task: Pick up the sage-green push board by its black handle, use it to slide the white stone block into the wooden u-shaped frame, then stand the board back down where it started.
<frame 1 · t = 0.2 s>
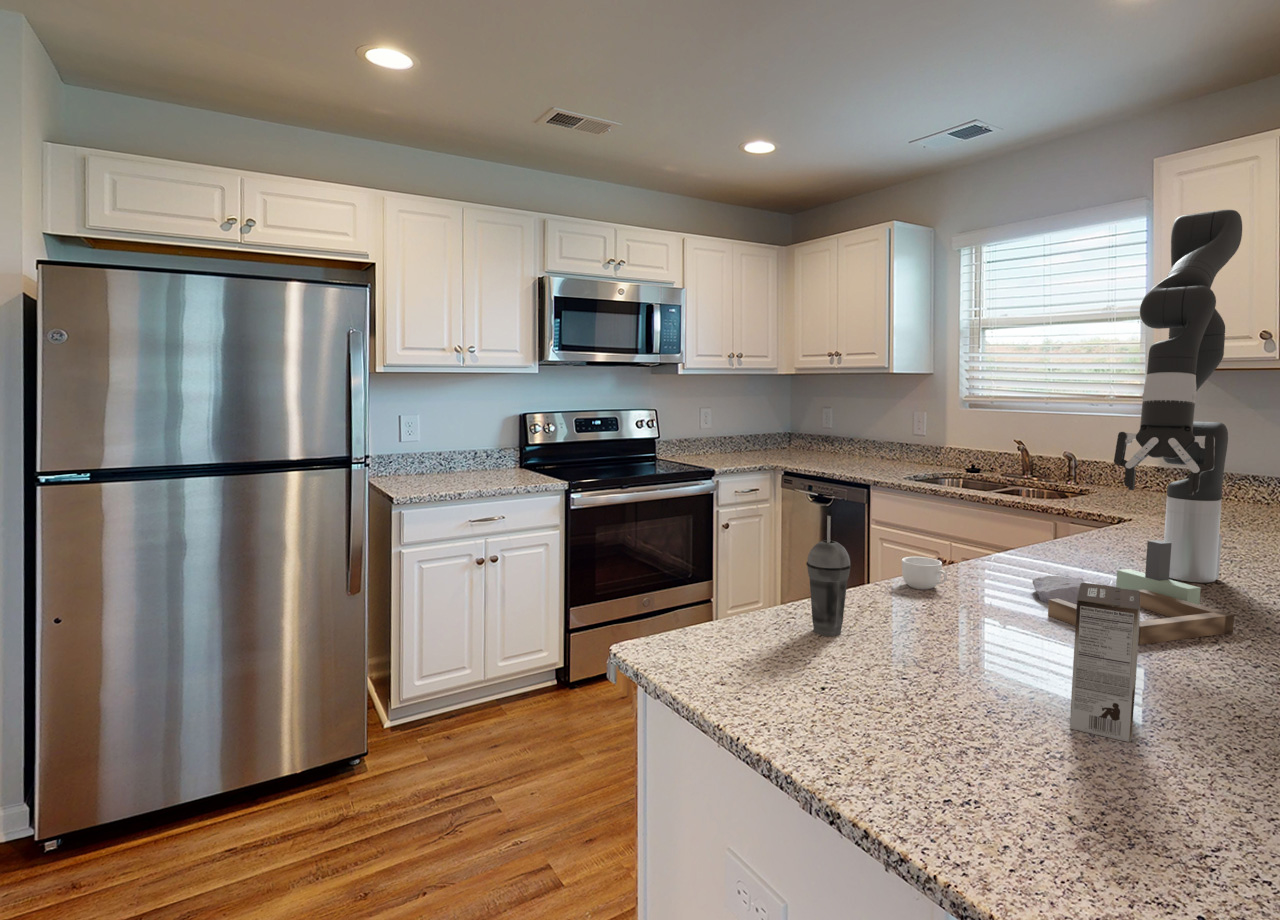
hand: (1159, 492, 128), 22 cm above the worktop, tool pointing down, fingers open, 8 cm apart
push board: (1155, 604, 137), on the worktop
wooden u-shaped frame: (1131, 621, 127), on the worktop
beverage cup: (827, 632, 123), on the worktop
teacup: (925, 588, 149), on the worktop
coffee box: (1101, 723, 89), on the worktop
stone block: (1061, 600, 141), on the worktop
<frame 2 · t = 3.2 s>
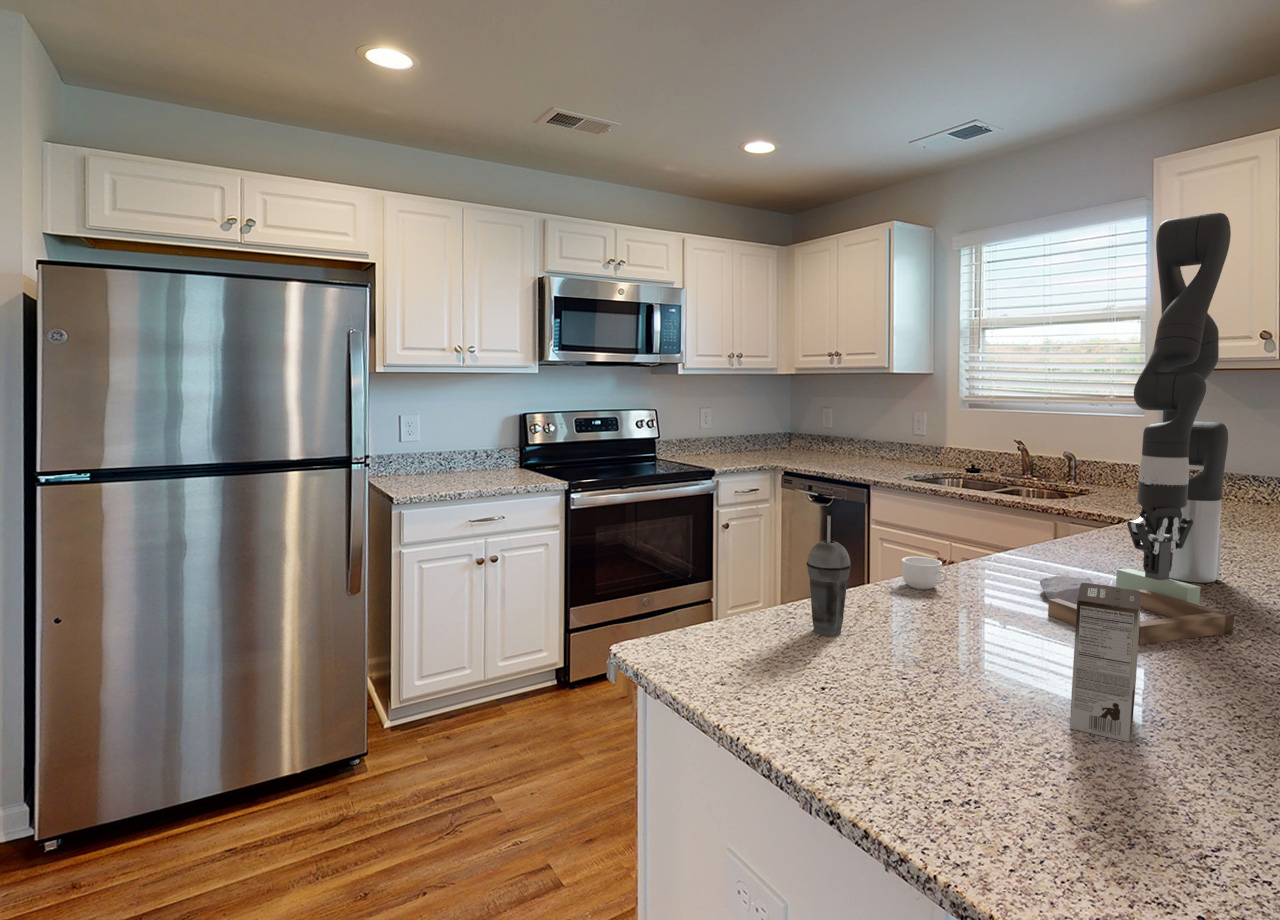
hand: (1157, 571, 136), 6 cm above the worktop, tool pointing down, fingers closed on push board, 2 cm apart
push board: (1155, 603, 137), on the worktop, touching gripper
stone block: (1069, 601, 141), on the worktop
everything else where it was.
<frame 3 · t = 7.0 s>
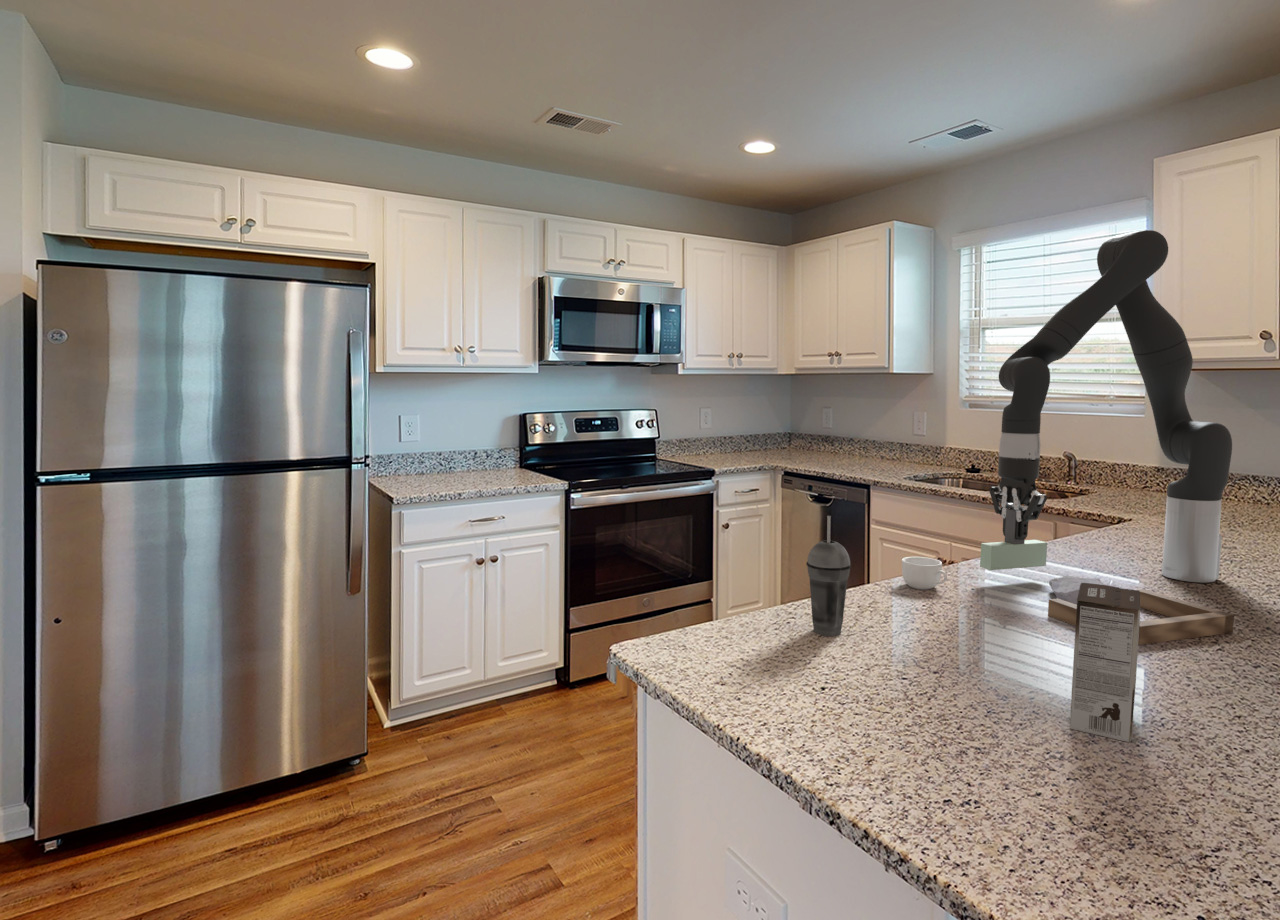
hand: (1014, 537, 151), 10 cm above the worktop, tool pointing down, fingers closed on push board, 2 cm apart
push board: (1013, 566, 152), point 3 cm above the worktop, touching gripper
stone block: (1079, 601, 140), on the worktop
everything else where it was.
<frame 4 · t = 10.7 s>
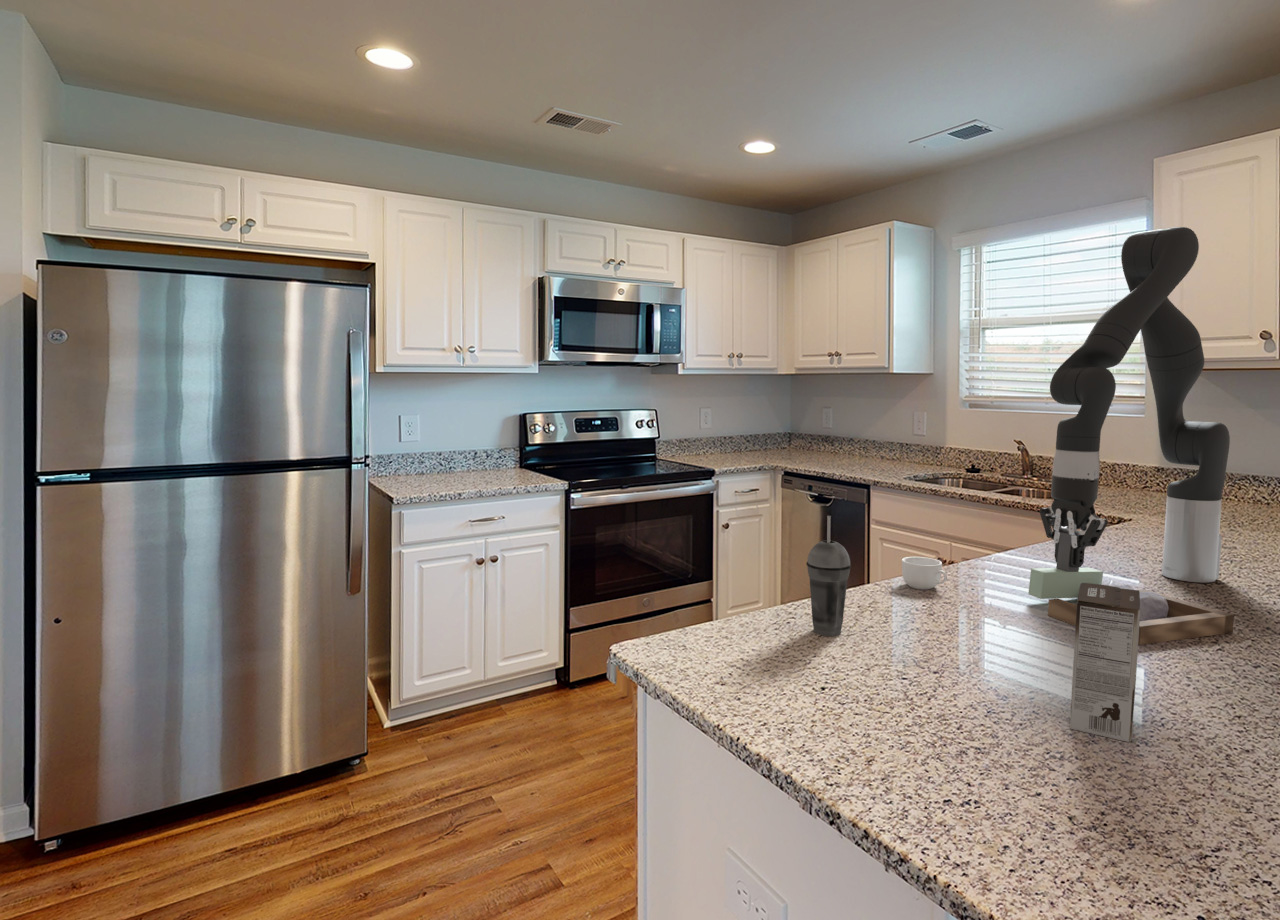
hand: (1068, 564, 138), 7 cm above the worktop, tool pointing down, fingers closed on push board, 2 cm apart
push board: (1064, 595, 139), point 1 cm above the worktop, touching gripper, stone block
stone block: (1119, 612, 133), on the worktop, touching push board
everything else where it was.
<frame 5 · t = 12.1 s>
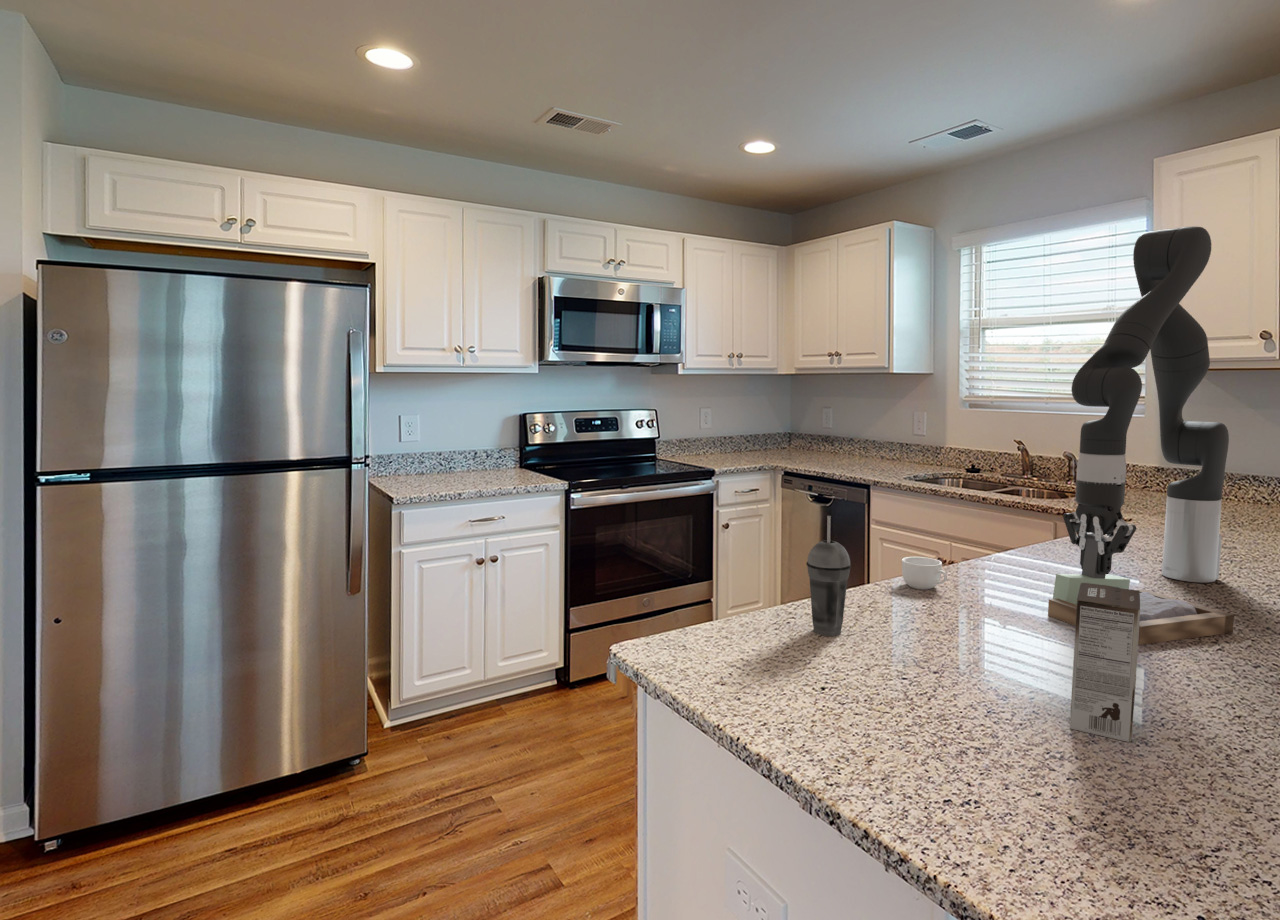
hand: (1095, 571, 133), 7 cm above the worktop, tool pointing down, fingers closed on push board, 2 cm apart
push board: (1089, 603, 134), point 1 cm above the worktop, tilted 6°, touching gripper, stone block
stone block: (1145, 621, 128), on the worktop, touching push board
everything else where it was.
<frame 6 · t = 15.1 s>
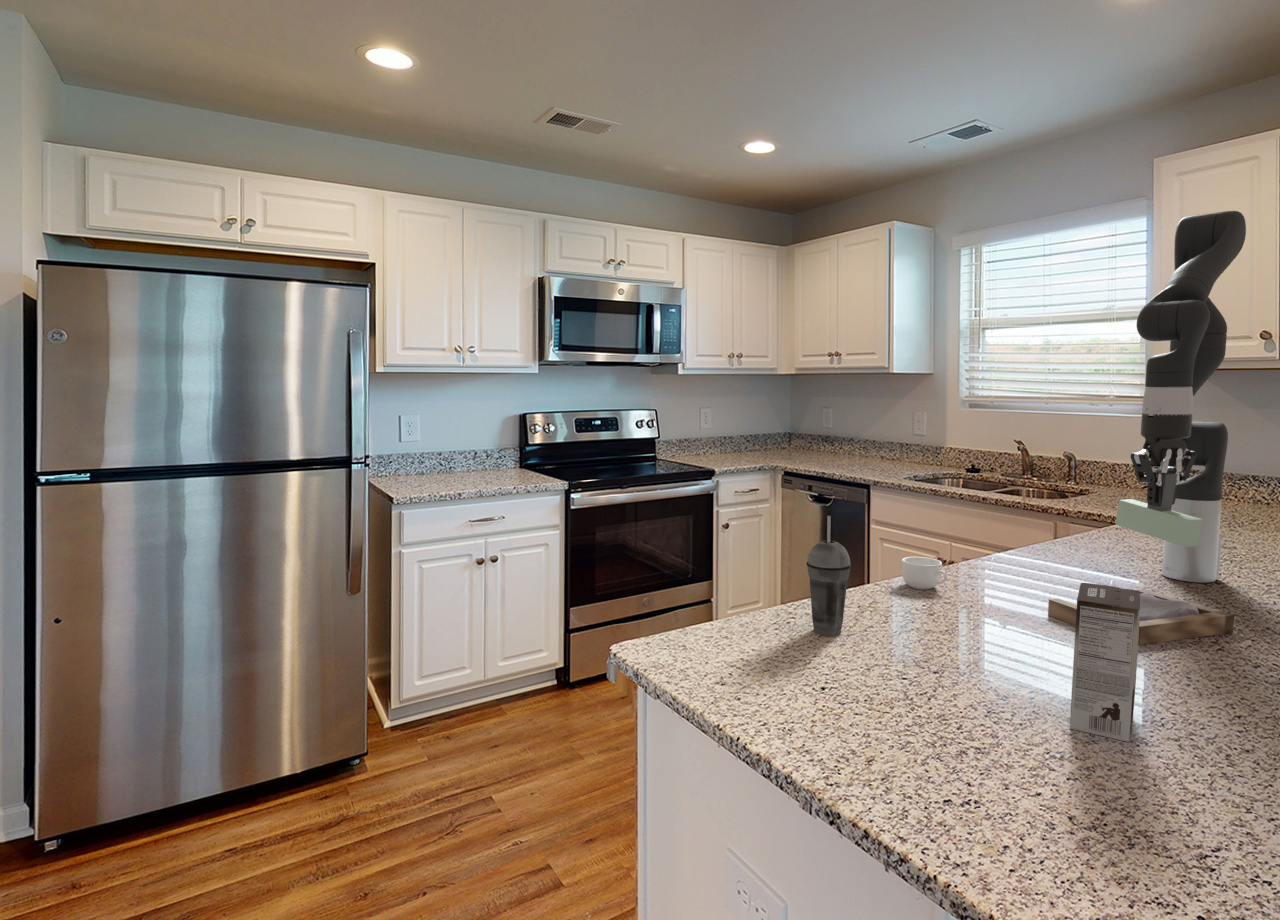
hand: (1160, 504, 135), 19 cm above the worktop, tool pointing down, fingers closed on push board, 2 cm apart
push board: (1154, 534, 137), point 13 cm above the worktop, tilted 6°, touching gripper
stone block: (1148, 622, 128), on the worktop
everything else where it was.
when the fingers open (7 cm above the worktop, at t = 17.6 s): push board drops 1 cm, on the worktop.
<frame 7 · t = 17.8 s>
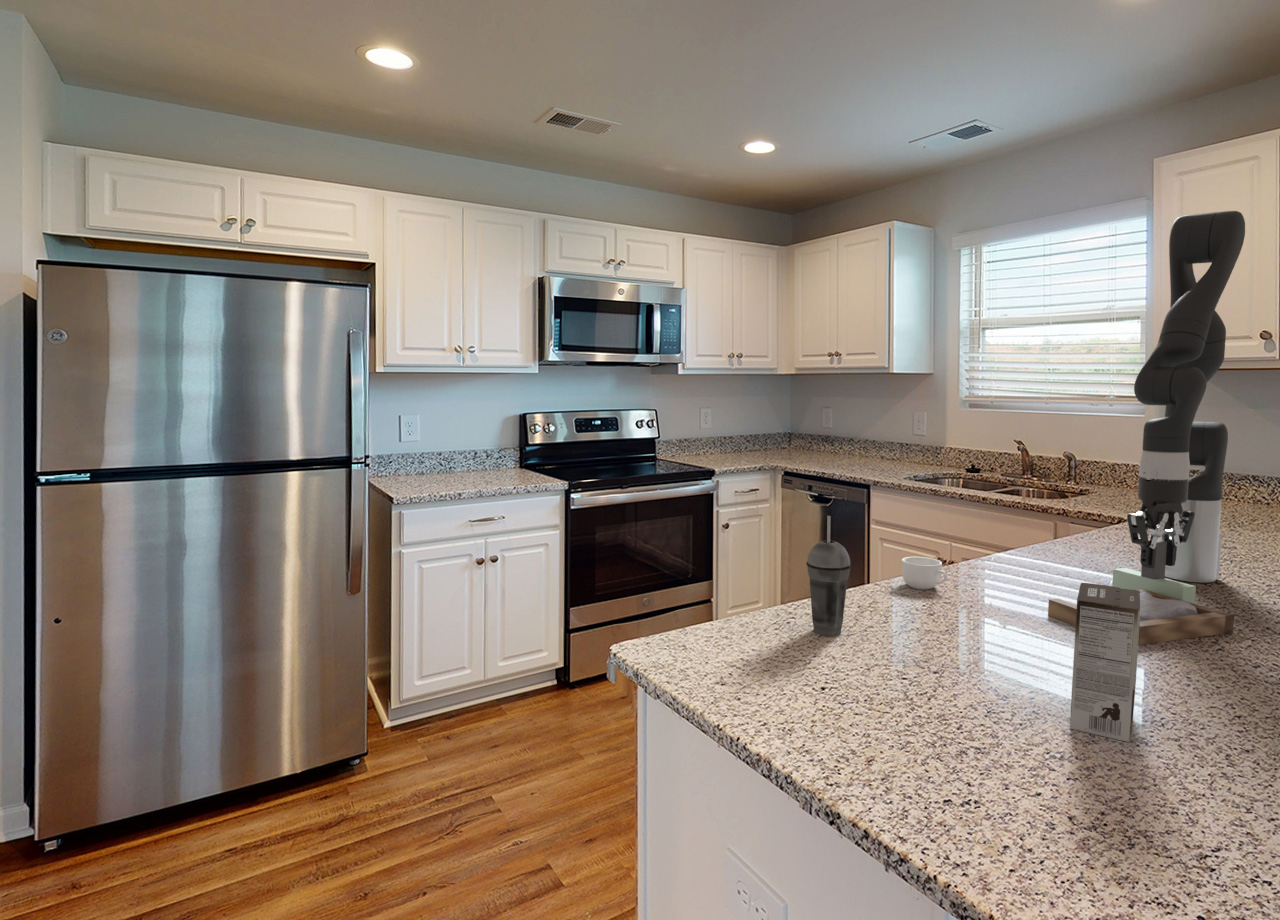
hand: (1157, 565, 136), 7 cm above the worktop, tool pointing down, fingers open, 4 cm apart
push board: (1151, 603, 138), on the worktop
everything else where it was.
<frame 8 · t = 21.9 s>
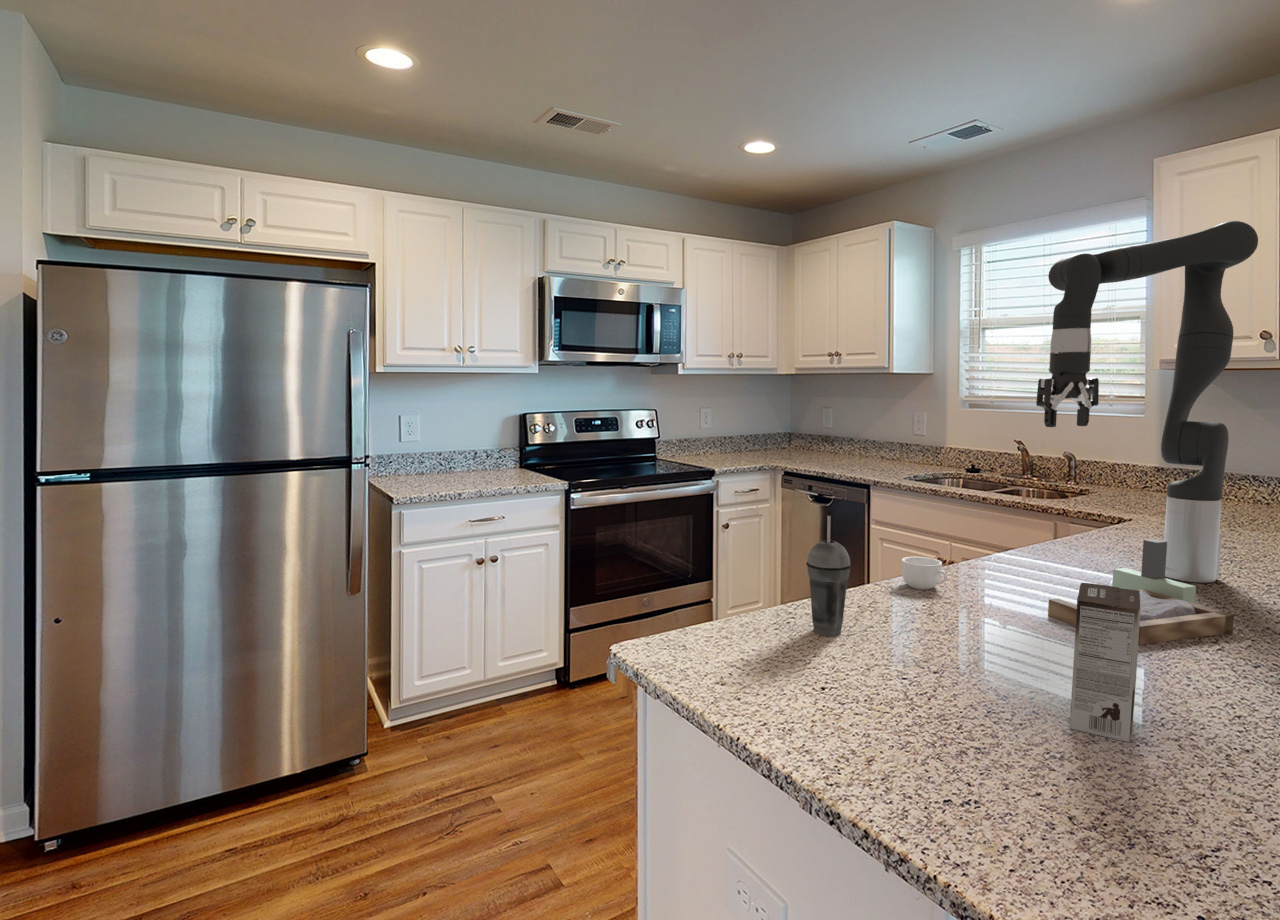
hand: (1066, 426, 157), 32 cm above the worktop, tool pointing down, fingers open, 8 cm apart
at the end: stone block inside the target area (4.4 cm from its centre), on the worktop; push board inside the target area (0.9 cm from its centre), on the worktop; push board tilted 0° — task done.
